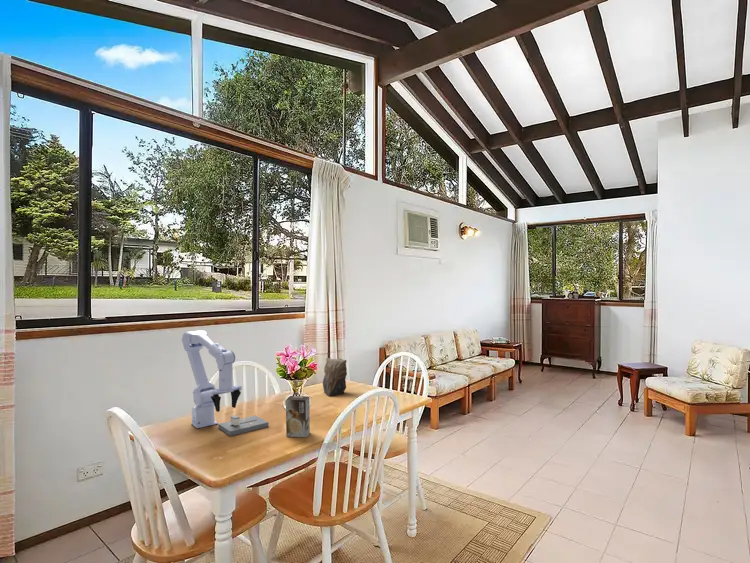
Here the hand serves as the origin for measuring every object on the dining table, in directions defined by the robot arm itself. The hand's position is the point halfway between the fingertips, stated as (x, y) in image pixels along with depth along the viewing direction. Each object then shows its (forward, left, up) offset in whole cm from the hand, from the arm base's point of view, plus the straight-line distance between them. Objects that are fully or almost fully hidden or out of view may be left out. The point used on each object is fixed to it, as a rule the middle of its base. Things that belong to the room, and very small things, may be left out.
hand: (225, 409), depth 193 cm
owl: (+72, +19, -10) cm, 75 cm away
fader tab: (+4, -1, -7) cm, 8 cm away
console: (+8, -1, -10) cm, 12 cm away
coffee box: (+22, -25, -10) cm, 35 cm away
